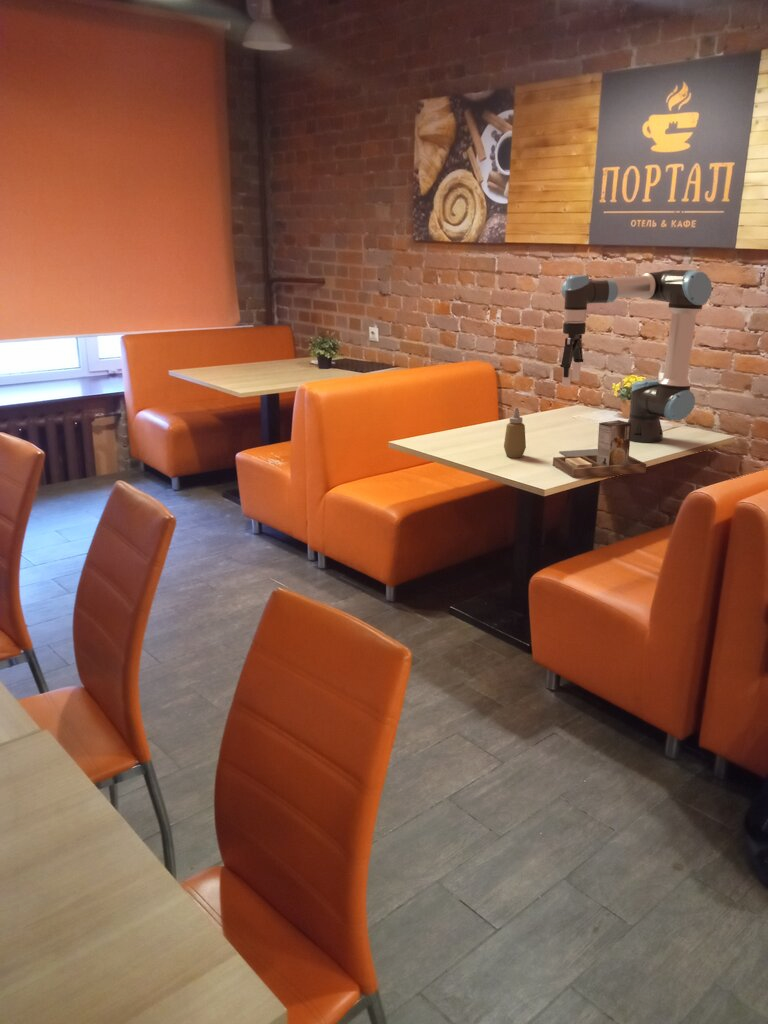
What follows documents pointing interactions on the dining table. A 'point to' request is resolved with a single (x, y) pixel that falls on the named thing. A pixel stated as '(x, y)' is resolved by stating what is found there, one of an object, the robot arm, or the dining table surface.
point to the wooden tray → (598, 467)
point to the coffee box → (613, 443)
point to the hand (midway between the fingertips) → (570, 383)
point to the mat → (579, 452)
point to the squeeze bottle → (515, 436)
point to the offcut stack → (578, 462)
